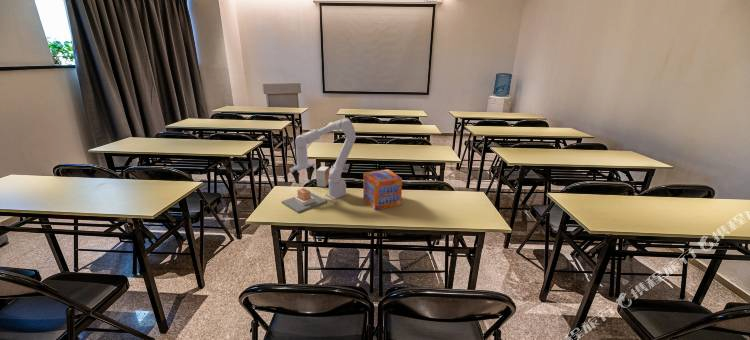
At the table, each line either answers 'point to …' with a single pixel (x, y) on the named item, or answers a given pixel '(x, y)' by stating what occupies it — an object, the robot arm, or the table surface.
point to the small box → (322, 176)
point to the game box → (382, 189)
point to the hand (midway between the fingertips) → (303, 181)
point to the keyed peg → (303, 194)
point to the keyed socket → (304, 203)
